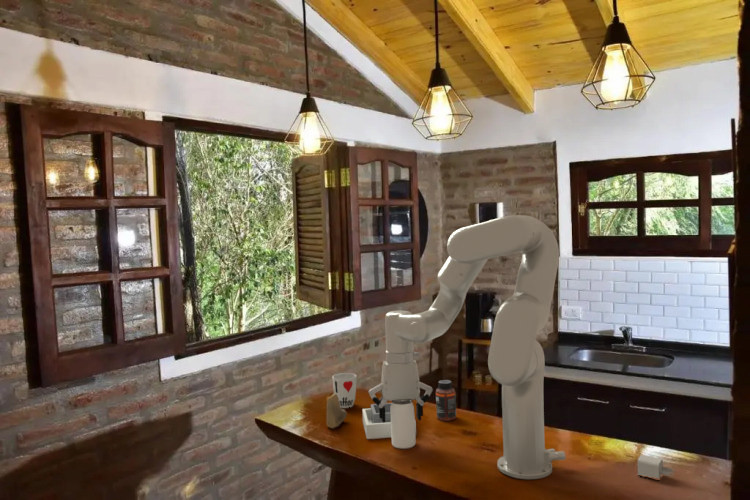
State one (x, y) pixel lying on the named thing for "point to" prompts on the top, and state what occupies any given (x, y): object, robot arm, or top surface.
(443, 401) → the supplement bottle
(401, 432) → the can
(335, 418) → the stone
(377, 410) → the inlet box
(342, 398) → the cup
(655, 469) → the usb wall charger
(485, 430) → the top surface
